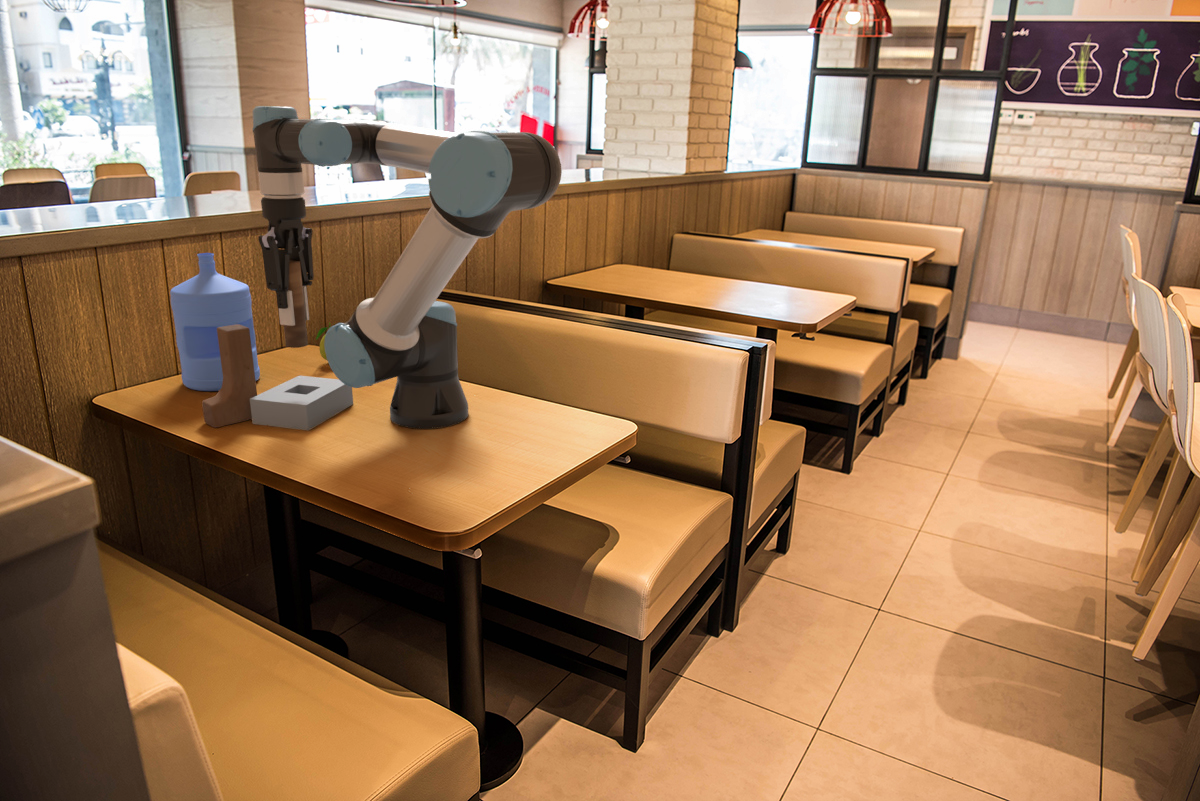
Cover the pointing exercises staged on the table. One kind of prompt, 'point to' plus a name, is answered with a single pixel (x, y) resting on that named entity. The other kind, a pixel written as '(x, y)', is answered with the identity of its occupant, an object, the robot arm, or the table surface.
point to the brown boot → (233, 379)
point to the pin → (296, 309)
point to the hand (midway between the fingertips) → (294, 321)
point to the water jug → (208, 323)
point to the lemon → (322, 341)
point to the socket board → (301, 402)
